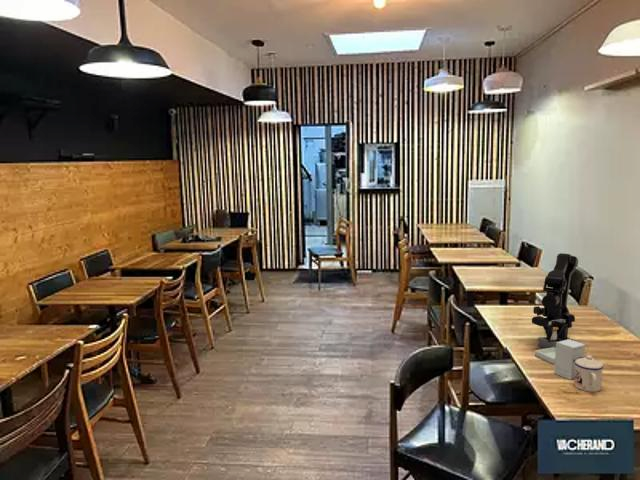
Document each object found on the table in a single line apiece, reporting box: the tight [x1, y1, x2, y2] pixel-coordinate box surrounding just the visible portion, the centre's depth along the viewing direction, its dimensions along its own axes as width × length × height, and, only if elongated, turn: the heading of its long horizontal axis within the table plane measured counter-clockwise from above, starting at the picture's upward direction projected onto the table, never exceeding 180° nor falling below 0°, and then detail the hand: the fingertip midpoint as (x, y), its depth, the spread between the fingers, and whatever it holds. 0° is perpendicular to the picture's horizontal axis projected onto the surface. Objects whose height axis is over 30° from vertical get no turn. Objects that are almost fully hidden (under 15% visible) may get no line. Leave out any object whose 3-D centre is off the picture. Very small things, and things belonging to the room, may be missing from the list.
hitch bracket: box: [537, 336, 564, 349], centre depth 222 cm, size 8×8×4 cm
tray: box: [534, 347, 556, 366], centre depth 211 cm, size 10×10×2 cm
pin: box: [548, 325, 559, 342], centre depth 222 cm, size 5×5×10 cm
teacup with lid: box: [573, 354, 604, 393], centre depth 182 cm, size 12×9×12 cm
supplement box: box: [553, 339, 586, 381], centre depth 194 cm, size 7×7×13 cm
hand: (552, 338), depth 222 cm, fingers closed on pin, 4 cm apart
